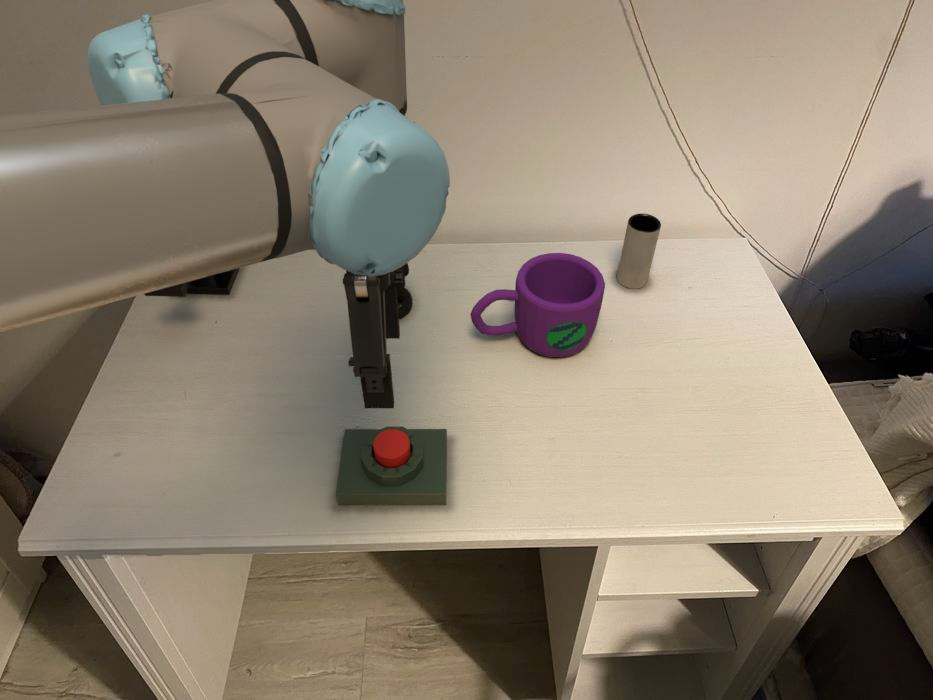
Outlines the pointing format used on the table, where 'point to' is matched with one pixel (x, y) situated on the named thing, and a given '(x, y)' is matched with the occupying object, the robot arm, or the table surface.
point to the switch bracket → (213, 283)
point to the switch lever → (170, 291)
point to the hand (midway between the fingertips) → (383, 368)
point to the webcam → (403, 293)
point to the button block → (393, 470)
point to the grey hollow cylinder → (638, 250)
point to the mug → (550, 304)
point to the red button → (391, 448)
